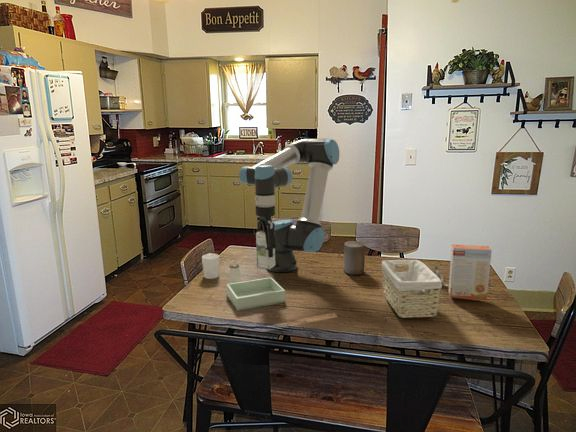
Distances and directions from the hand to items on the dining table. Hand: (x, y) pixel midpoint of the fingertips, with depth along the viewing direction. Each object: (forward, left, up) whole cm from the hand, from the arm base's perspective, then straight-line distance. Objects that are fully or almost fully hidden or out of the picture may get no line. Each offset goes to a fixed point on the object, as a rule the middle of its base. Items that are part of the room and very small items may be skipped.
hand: (266, 261), depth 164 cm
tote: (+5, 0, -15) cm, 16 cm away
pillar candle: (-48, -12, -16) cm, 52 cm away
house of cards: (-77, +15, -16) cm, 80 cm away
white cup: (+16, -32, -16) cm, 39 cm away
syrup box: (0, 0, -2) cm, 2 cm away
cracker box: (-75, +31, -16) cm, 83 cm away
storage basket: (-48, +29, -16) cm, 58 cm away
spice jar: (+9, -17, -15) cm, 24 cm away
